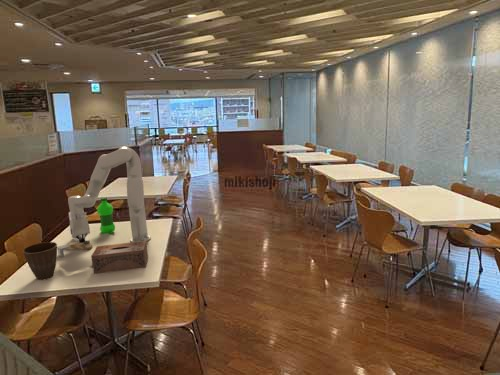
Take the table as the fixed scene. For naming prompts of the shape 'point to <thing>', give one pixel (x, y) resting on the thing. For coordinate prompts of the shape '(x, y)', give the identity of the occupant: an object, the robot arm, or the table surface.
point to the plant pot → (42, 259)
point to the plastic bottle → (106, 216)
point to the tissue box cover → (119, 257)
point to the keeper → (61, 248)
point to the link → (81, 245)
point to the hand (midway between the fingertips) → (82, 244)
